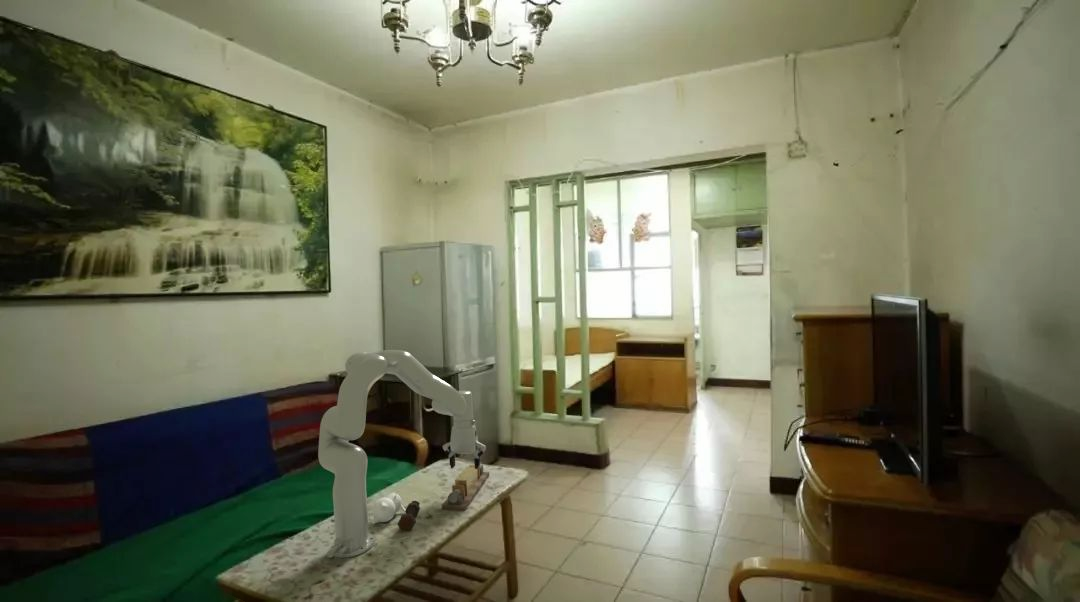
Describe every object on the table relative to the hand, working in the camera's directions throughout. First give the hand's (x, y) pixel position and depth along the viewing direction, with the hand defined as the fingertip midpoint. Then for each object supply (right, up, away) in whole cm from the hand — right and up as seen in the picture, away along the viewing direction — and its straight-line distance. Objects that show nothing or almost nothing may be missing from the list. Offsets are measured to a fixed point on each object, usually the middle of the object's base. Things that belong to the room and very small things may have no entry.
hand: (464, 467), depth 174 cm
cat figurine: (-23, -11, -18) cm, 31 cm away
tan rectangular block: (+1, -8, +1) cm, 8 cm away
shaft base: (+1, -10, +1) cm, 10 cm away
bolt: (-15, -11, -20) cm, 27 cm away
